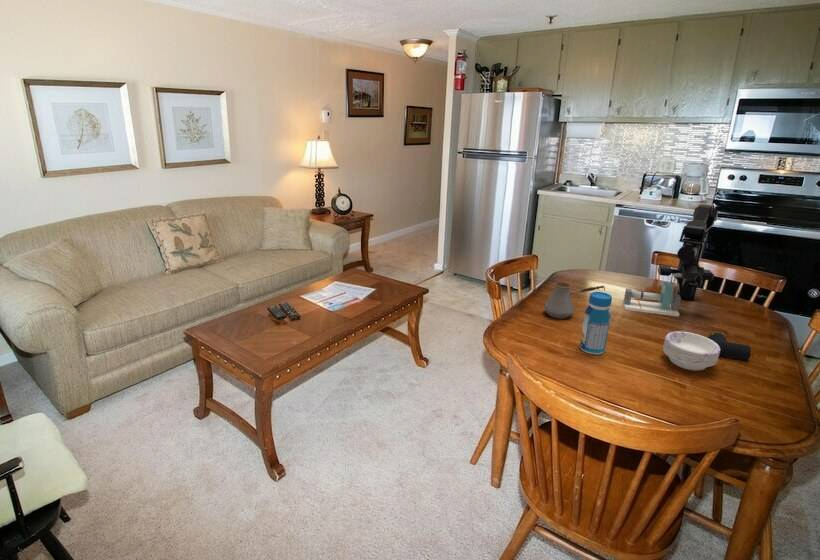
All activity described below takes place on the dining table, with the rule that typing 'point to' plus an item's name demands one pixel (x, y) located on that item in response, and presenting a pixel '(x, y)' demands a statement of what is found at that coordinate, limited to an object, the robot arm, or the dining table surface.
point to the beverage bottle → (596, 323)
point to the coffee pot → (563, 300)
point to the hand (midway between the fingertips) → (680, 292)
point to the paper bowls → (691, 350)
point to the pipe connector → (730, 347)
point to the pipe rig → (650, 303)
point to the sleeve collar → (666, 294)
